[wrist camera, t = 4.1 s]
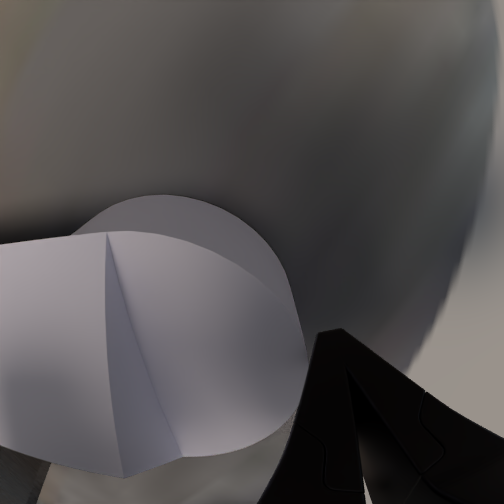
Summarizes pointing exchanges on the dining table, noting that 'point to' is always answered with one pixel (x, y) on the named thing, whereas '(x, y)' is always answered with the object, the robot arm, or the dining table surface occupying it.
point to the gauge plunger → (16, 475)
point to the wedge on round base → (146, 339)
